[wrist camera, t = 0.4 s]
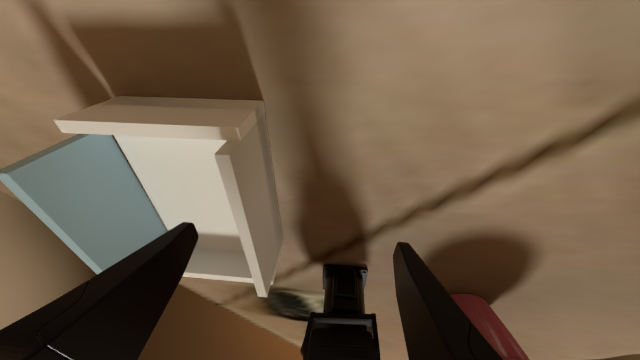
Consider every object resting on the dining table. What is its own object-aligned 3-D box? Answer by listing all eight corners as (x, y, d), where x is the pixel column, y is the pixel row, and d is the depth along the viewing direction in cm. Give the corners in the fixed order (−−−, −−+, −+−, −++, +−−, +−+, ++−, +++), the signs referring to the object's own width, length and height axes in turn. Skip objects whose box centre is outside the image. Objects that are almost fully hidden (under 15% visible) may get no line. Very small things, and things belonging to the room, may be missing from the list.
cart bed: (283, 243, 32) (268, 301, 26) (190, 236, 33) (152, 290, 27) (263, 100, 20) (225, 140, 14) (119, 95, 21) (21, 131, 15)
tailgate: (173, 241, 30) (129, 298, 24) (162, 240, 30) (115, 297, 24) (106, 126, 20) (6, 173, 14) (90, 125, 21) (-16, 172, 15)
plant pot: (438, 275, 33) (479, 393, 23) (527, 294, 34) (606, 416, 24) (398, 317, 42) (415, 416, 31) (470, 331, 42) (510, 432, 32)
